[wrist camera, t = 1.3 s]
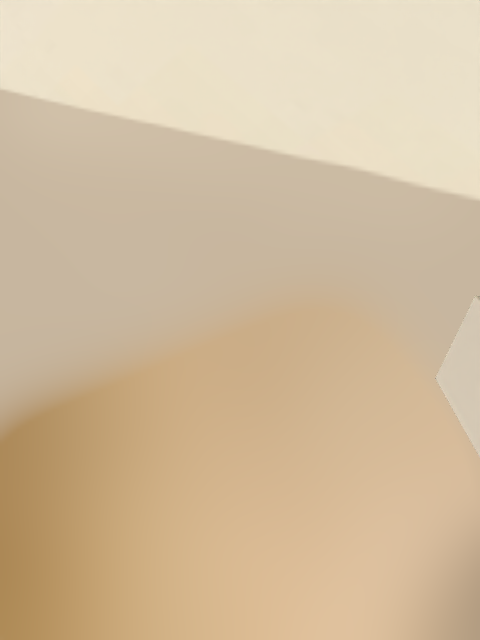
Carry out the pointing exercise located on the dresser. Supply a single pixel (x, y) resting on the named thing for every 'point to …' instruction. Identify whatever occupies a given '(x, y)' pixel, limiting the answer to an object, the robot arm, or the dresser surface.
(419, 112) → the dresser surface
